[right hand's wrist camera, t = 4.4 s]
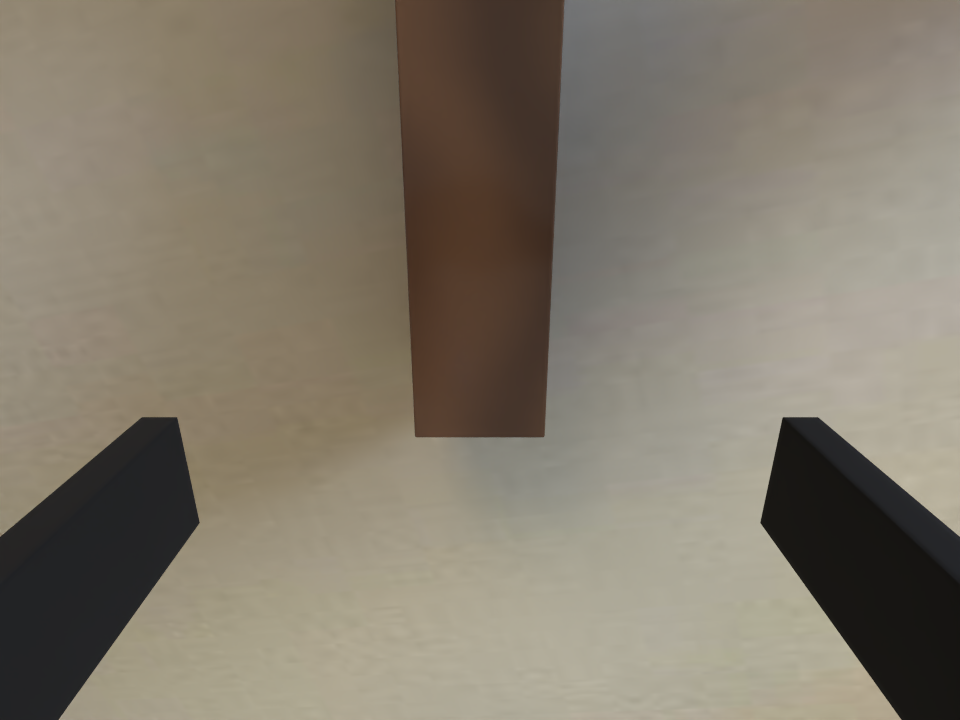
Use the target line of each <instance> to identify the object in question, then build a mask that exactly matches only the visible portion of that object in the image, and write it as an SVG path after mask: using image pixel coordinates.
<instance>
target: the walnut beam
mask: <svg viewBox="0 0 960 720" xmlns="http://www.w3.org/2000/svg"><path fill="white" fill-rule="evenodd" d="M395 9H396V31H397V52H398V74H399V96H400V117H401V139H402V161H403V183H404V204H405V226H406V248H407V270H408V291H409V313H410V335H411V356H412V378H413V400H414V422H415V436H416V437H544V436H545V414H546V392H547V370H548V348H549V327H550V305H551V283H552V261H553V239H554V218H555V196H556V174H557V152H558V130H559V108H560V87H561V65H562V43H563V21H564V0H395Z"/></svg>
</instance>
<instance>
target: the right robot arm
mask: <svg viewBox="0 0 960 720" xmlns="http://www.w3.org/2000/svg"><path fill="white" fill-rule="evenodd" d="M198 524H199V518H198V513H197V508H196V504H195V499H194V494H193V490H192V485H191V480H190V475H189V471H188V466H187V461H186V457H185V452H184V447H183V442H182V438H181V433H180V428H179V424H178V419H177V417H142V418H141V419H139V420H138V421H137V422H136V423H135V424H133V425H132V426H131V427H130V428H129V429H128V430H126V431H125V432H124V433H123V434H122V435H120V436H119V437H118V438H117V439H116V440H115V441H113V442H112V443H111V444H110V445H109V446H107V447H106V448H105V449H104V450H103V451H102V452H100V453H99V454H98V455H97V456H96V457H94V458H93V459H92V460H91V461H90V462H88V463H87V464H86V465H85V466H84V467H83V468H81V469H80V470H79V471H78V472H77V473H75V474H74V475H73V476H72V477H71V478H70V479H68V480H67V481H66V482H65V483H64V484H62V485H61V486H60V487H59V488H58V489H56V490H55V491H54V492H53V493H52V494H51V495H49V496H48V497H47V498H46V499H45V500H43V501H42V502H41V503H40V504H39V505H38V506H36V507H35V508H34V509H33V510H32V511H30V512H29V513H28V514H27V515H26V516H24V517H23V518H22V519H21V520H20V521H19V522H17V523H16V524H15V525H14V526H13V527H11V528H10V529H9V530H8V531H7V532H6V533H4V534H3V535H2V536H1V537H0V720H59V718H60V717H61V715H62V714H63V713H64V711H65V710H66V708H67V707H68V706H69V704H70V703H71V701H72V700H73V699H74V697H75V696H76V694H77V693H78V692H79V690H80V689H81V687H82V686H83V685H84V683H85V682H86V680H87V679H88V678H89V676H90V675H91V674H92V672H93V671H94V669H95V668H96V667H97V665H98V664H99V662H100V661H101V660H102V658H103V657H104V655H105V654H106V653H107V651H108V650H109V648H110V647H111V646H112V644H113V643H114V641H115V640H116V639H117V637H118V636H119V634H120V633H121V632H122V630H123V629H124V628H125V626H126V625H127V623H128V622H129V621H130V619H131V618H132V616H133V615H134V614H135V612H136V611H137V609H138V608H139V607H140V605H141V604H142V602H143V601H144V600H145V598H146V597H147V595H148V594H149V593H150V591H151V590H152V588H153V587H154V586H155V584H156V583H157V582H158V580H159V579H160V577H161V576H162V575H163V573H164V572H165V570H166V569H167V568H168V566H169V565H170V563H171V562H172V561H173V559H174V558H175V556H176V555H177V554H178V552H179V551H180V549H181V548H182V547H183V545H184V544H185V543H186V541H187V540H188V538H189V537H190V536H191V534H192V533H193V531H194V530H195V529H196V527H197V526H198ZM761 524H762V526H763V527H764V529H765V530H766V531H767V533H768V534H769V536H770V537H771V538H772V540H773V541H774V543H775V544H776V545H777V547H778V548H779V549H780V551H781V552H782V554H783V555H784V556H785V558H786V559H787V561H788V562H789V563H790V565H791V566H792V568H793V569H794V570H795V572H796V573H797V575H798V576H799V577H800V579H801V580H802V582H803V583H804V584H805V586H806V587H807V588H808V590H809V591H810V593H811V594H812V595H813V597H814V598H815V600H816V601H817V602H818V604H819V605H820V607H821V608H822V609H823V611H824V612H825V614H826V615H827V616H828V618H829V619H830V621H831V622H832V623H833V625H834V626H835V628H836V629H837V630H838V632H839V633H840V634H841V636H842V637H843V639H844V640H845V641H846V643H847V644H848V646H849V647H850V648H851V650H852V651H853V653H854V654H855V655H856V657H857V658H858V660H859V661H860V662H861V664H862V665H863V667H864V668H865V669H866V671H867V672H868V674H869V675H870V676H871V678H872V679H873V680H874V682H875V683H876V685H877V686H878V687H879V689H880V690H881V692H882V693H883V694H884V696H885V697H886V699H887V700H888V701H889V703H890V704H891V706H892V707H893V708H894V710H895V711H896V713H897V714H898V715H899V717H900V718H901V720H960V537H959V536H958V535H957V534H956V533H954V532H953V531H952V530H951V529H950V528H949V527H947V526H946V525H945V524H944V523H943V522H941V521H940V520H939V519H938V518H937V517H936V516H934V515H933V514H932V513H931V512H930V511H928V510H927V509H926V508H925V507H924V506H922V505H921V504H920V503H919V502H918V501H917V500H915V499H914V498H913V497H912V496H911V495H909V494H908V493H907V492H906V491H905V490H904V489H902V488H901V487H900V486H899V485H898V484H896V483H895V482H894V481H893V480H892V479H890V478H889V477H888V476H887V475H886V474H885V473H883V472H882V471H881V470H880V469H879V468H877V467H876V466H875V465H874V464H873V463H872V462H870V461H869V460H868V459H867V458H866V457H864V456H863V455H862V454H861V453H860V452H858V451H857V450H856V449H855V448H854V447H853V446H851V445H850V444H849V443H848V442H847V441H845V440H844V439H843V438H842V437H841V436H840V435H838V434H837V433H836V432H835V431H834V430H832V429H831V428H830V427H829V426H828V425H827V424H825V423H824V422H823V421H822V420H821V419H819V418H818V417H783V419H782V424H781V428H780V433H779V438H778V442H777V447H776V452H775V457H774V461H773V466H772V471H771V475H770V480H769V485H768V490H767V494H766V499H765V504H764V508H763V513H762V518H761Z"/></svg>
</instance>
